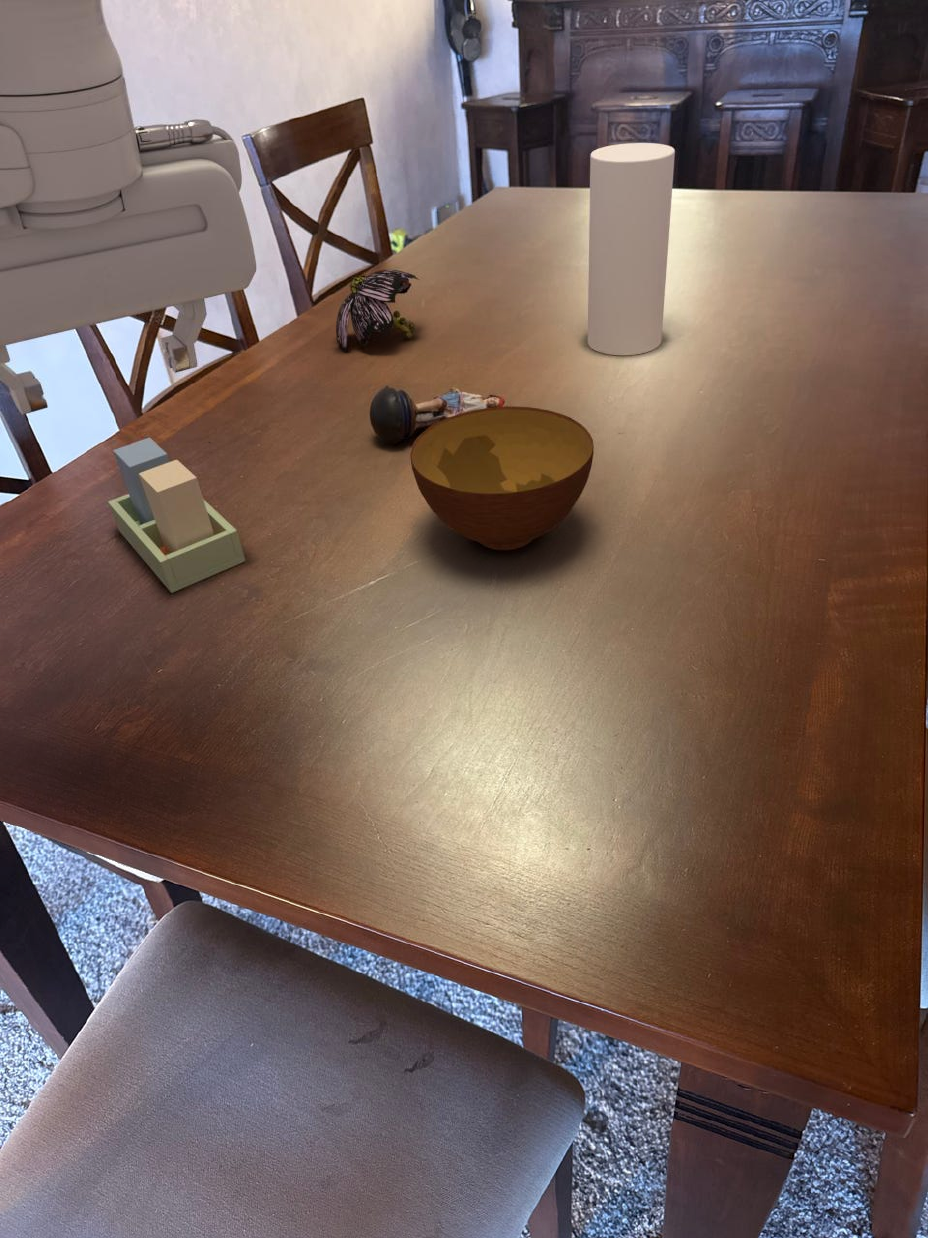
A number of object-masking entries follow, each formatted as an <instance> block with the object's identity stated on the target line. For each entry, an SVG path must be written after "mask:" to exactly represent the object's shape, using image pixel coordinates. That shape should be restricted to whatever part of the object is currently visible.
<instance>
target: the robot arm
mask: <svg viewBox="0 0 928 1238" xmlns="http://www.w3.org/2000/svg"><path fill="white" fill-rule="evenodd" d="M214 135H215V136H219V137H216V138H214ZM242 183H243V175H242V167H241V160H240V152H239V149H238V146H237V145H236V143H235V141H234V138H233V137H232V136H231V135H230V133H228V132H227V131H225V129H222V128H220V127H218V126H214V125H212V124H211V122H210V121H209V120H208V119H189V120H186V121H184V122H183V123H173V124H162V123H161V124H151V125H144V126H142V125H141V126H140V125H139V126H135V124H134V119H133V114H132V107H131V104H130V99H129V94H128V89H127V84H126V79H125V75H124V68H123V64H122V60H121V57H120V54H119V52H118V50H117V48H116V46H115V43H114V42H113V39H112V37H111V34H110V32H109V29H108V26H107V23H106V19H105V16H104V10H103V1H102V0H0V382H1V383H3V384H4V385H5V386H6V387H8V389H9V392H10V395H11V398H12V401H13V402H14V404H15V406H16V408H17V409H18V411H19V412H20V413H21V415H22V416H24V415H27V414H31V413H34V412H38V411H42V410H44V409H48V407H49V406H48V403H47V402H48V401H47V400H46V398H45V397H44V394H45V393H44V389H43V386H42V383H41V382H40V381H39V379H38V378H36V376H35V375H34V373H33V372H32V371H31V370H29V371H25V372H19V373H16V372H15V371H14V370H13V369H12V368H10V367H9V366H8V365H7V363H10V361H11V357H10V354H9V352H8V349H7V346H9V345H13V344H17V343H18V344H19V343H21V342H26V341H30V340H34V339H39V338H44V337H47V336H52V335H55V334H60V333H63V332H69V331H73V330H77V329H81V328H85V327H89V326H94V325H98V324H103V323H107V322H111V321H114V320H115V321H116V320H119V319H124V318H129V317H133V316H136V315H140V314H141V315H142V314H144V313H150V312H154V311H157V310H161V309H167V308H170V307H173V308H175V309H176V310H177V311H178V313H177V317H176V320H175V324H174V327H173V330H172V334H170V335H167V336H164V337H160V342H161V346H162V349H163V350H164V354H163V356H164V360H165V363H166V365H167V366H168V367H169V368H170V369H172V371H173V372H174V374H176V373H177V374H178V373H180V372H183V371H188V370H191V369H194V368H197V367H198V358H197V353H196V348H195V344H196V343H197V340H198V338H199V336H200V333H201V330H202V327H203V325H204V323H205V320H206V317H207V315H208V314H207V307H206V301H205V299H209V298H214V297H218V296H221V295H225V294H229V293H234V292H238V291H243V290H246V289H247V288H248V287H249V286H250V285H251V282H252V281H253V279H254V276H255V274H256V272H257V260H256V254H255V247H254V244H253V238H252V235H251V230H250V226H249V225H250V224H249V222H248V218H247V215H246V212H245V208H244V204H243V201H242V198H241V195H240V191H241V188H242Z"/></svg>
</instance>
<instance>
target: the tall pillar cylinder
mask: <svg viewBox="0 0 928 1238" xmlns="http://www.w3.org/2000/svg"><path fill="white" fill-rule="evenodd" d="M675 155H676V150H675V148H674V147H672V146H670V145H667V144H663V143H657V142H656V143H655V142H654V143H653V142H628V143H619V144H612V145H611V144H610V145H607V146H603V147H600V148H597V149H595V150H592V152H591V153H590V157H589V158H590V160H589V161H590V163H589V219H588V220H589V221H588V223H589V225H588V226H589V227H588V282H587V283H588V286H587V287H588V288H587V289H588V293H587V295H588V296H587V298H588V299H587V345H588V346H589V348H590V349H592V350H594V351H596V352H598V353H601V354H604V355H612V356H634V355H635V356H636V355H640V354H646V353H649V352H651V351H654V350H656V349H657V348H658V347H659V346H661V344H662V340H663V339H662V338H663V327H664V311H665V310H664V309H665V300H666V299H665V297H666V282H667V270H668V269H667V267H668V253H669V241H670V240H669V239H670V227H671V212H672V211H671V210H672V196H673V185H674V183H673V182H674V171H675Z"/></svg>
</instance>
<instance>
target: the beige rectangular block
mask: <svg viewBox="0 0 928 1238" xmlns="http://www.w3.org/2000/svg"><path fill="white" fill-rule="evenodd" d="M139 476H140V479H141V482H142V485H143V487H144V490H145V493H146V496H147V499H148V502H149V505H150V507H151V510H152V513H153V516H154V519H155V522H156V525H157V527H158V530H159V533H160V536H161V539H162V542H163V544H164V547H165V550H166V551H167V552H168V553H169V554H171V553H173V552H175V551H178V550H180V549H183V548H185V547H188V546H190V545H192V544H195V543H197V542H200V541H202V540H205V539H207V538H209V537H212V536H214V533H213V529H212V526H211V523H210V520H209V516H208V513H207V510H206V506H205V503H204V500H205V499H204V497H203V494H202V490H201V488H200V483H199V481H198V477H197V476H196V475H195V474H194V473H193V472H191V471H190V470H189V469H188V468H187V467H186V466H184V464H183V463H182V462H180V461H179V460H178V459H174V460H171V461H170V462H169V463H166V464H163V465H160V466H158V467H155V468H152V469H149V470H147V471H144V472H141V473H139ZM203 499H204V500H203Z"/></svg>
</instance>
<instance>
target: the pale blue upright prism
mask: <svg viewBox="0 0 928 1238" xmlns="http://www.w3.org/2000/svg"><path fill="white" fill-rule="evenodd" d="M112 452H113V455H114V457H115V460H116V463H117V466H118V468H119V472H120V474H121V477H122V479H123V482H124V485H125V488H126V490H127V494H129V496H130V499H131V501H132V504H133V507H134V509H135V512H136V515H137V518H138V520H139V523H140V524H141V525H142V524H145V523H147V522H150V521H152V520H155V519H154V516H153V513H152V510H151V507H150V505H149V502H148V499H147V496H146V493H145V490H144V487H143V485H142V482H141V479H140V476H139V473H141V472H144V471H147V470H149V469H152V468H155V467H158V466H160V465H163V464H166V463H169V462H171V461H170V458H169V455H168V453H167V452H166V451H165V450H164V449H163V448H161V446H159V444H157V443H156V442H155V441H154V440H153V439H152V438H150V437H147V438H144V439H141V440H138V441H135V442H132V443H130V444H127V445H124V446H121V447H118V448H115V449H113V450H112Z"/></svg>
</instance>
